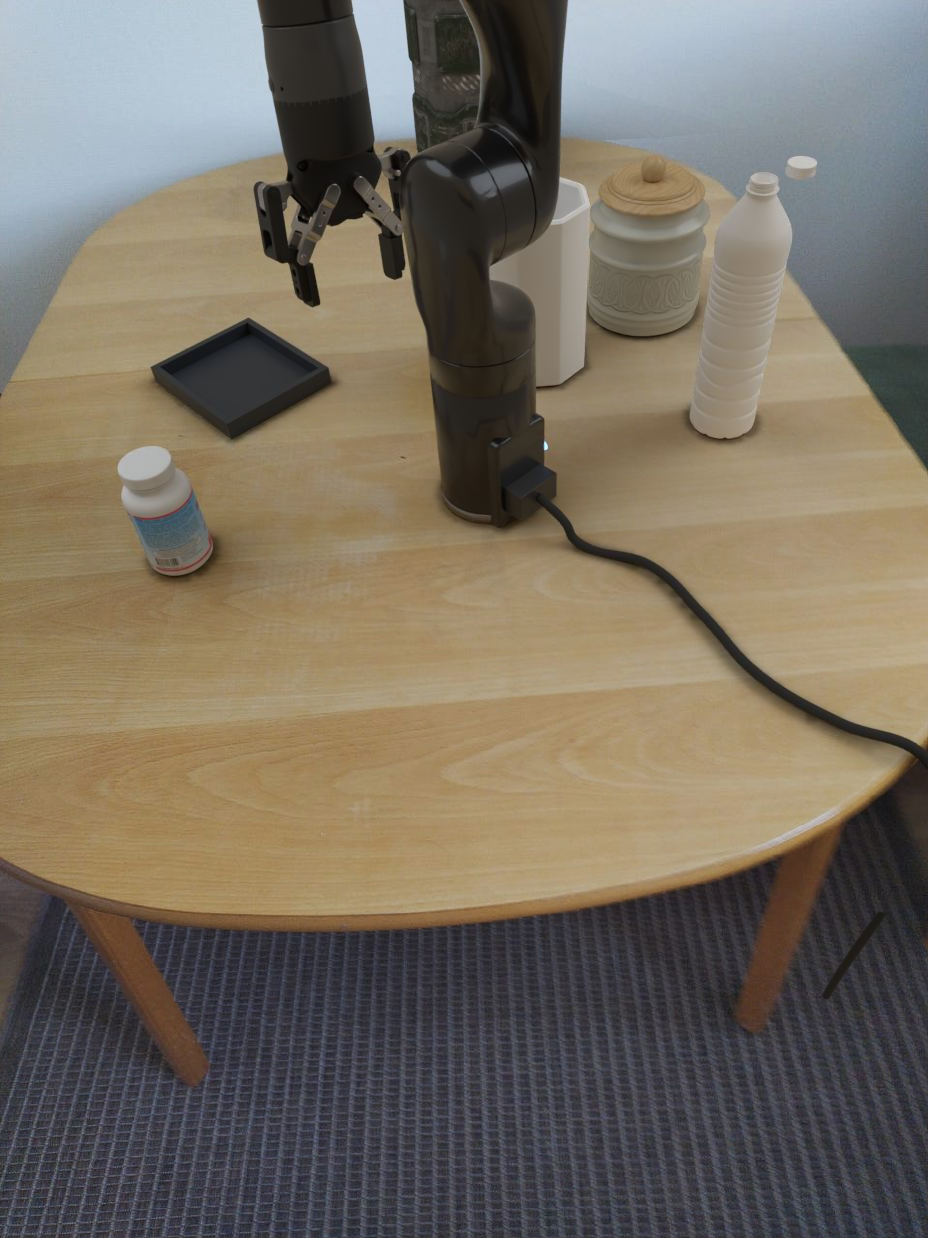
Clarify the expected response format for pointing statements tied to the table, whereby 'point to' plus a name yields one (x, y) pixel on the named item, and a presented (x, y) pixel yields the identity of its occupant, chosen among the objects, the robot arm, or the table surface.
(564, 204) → the cup
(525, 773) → the table surface
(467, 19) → the canister
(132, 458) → the pill bottle
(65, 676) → the table surface
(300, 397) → the tray
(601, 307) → the jar
